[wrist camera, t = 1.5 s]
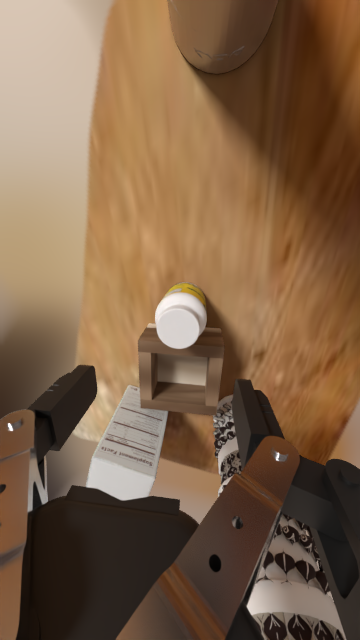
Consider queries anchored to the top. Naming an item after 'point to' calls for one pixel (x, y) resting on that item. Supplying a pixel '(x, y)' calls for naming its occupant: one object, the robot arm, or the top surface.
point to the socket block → (181, 373)
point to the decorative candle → (282, 563)
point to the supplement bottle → (181, 315)
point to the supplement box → (129, 450)
